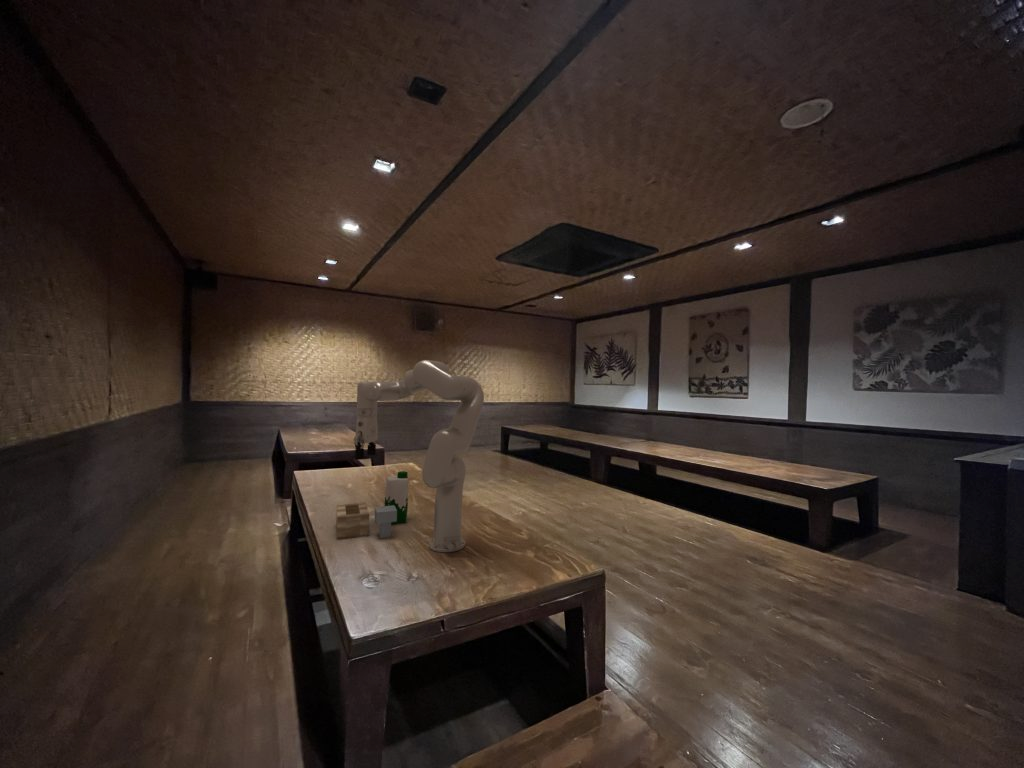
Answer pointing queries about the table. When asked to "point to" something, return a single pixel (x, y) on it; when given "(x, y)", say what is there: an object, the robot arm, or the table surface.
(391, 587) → the table surface
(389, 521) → the t peg
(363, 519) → the slot rack
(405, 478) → the milk carton
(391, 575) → the table surface
